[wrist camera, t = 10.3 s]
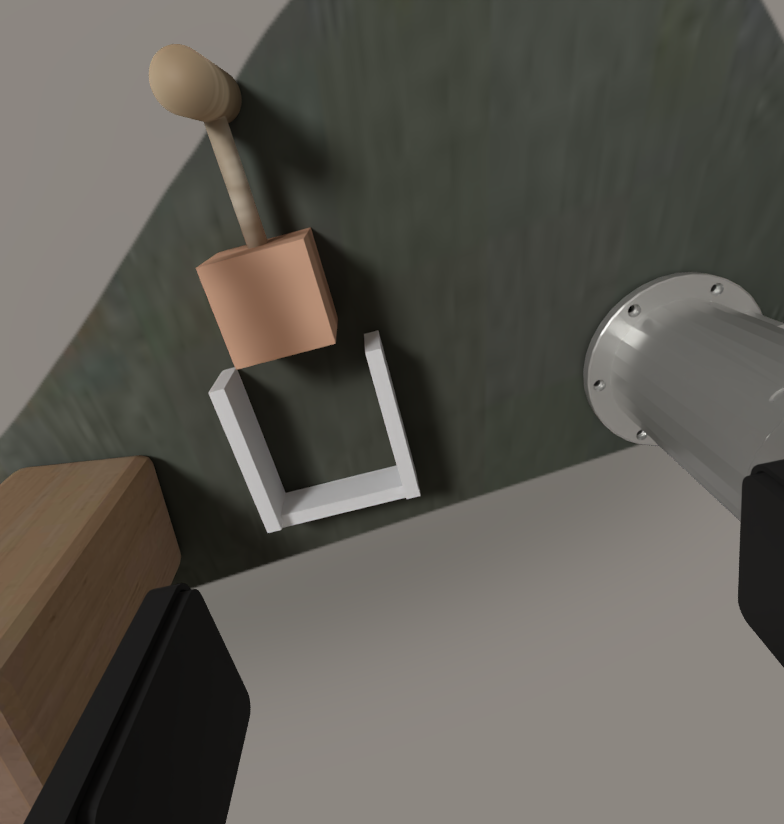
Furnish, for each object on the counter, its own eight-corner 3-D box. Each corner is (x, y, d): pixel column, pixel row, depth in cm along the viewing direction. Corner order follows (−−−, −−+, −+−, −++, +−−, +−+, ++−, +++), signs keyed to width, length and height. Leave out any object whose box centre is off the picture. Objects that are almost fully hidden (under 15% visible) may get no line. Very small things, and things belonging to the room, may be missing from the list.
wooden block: (188, 558, 44) (71, 837, 26) (61, 572, 44) (-146, 863, 26) (154, 448, 40) (-13, 687, 22) (14, 463, 40) (-272, 717, 22)
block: (258, 54, 30) (233, 26, 24) (338, 318, 37) (334, 351, 31) (155, 83, 31) (103, 63, 24) (251, 341, 37) (230, 378, 31)
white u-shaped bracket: (378, 330, 37) (380, 348, 34) (416, 472, 42) (422, 501, 38) (222, 370, 38) (208, 392, 34) (277, 506, 43) (269, 538, 39)
